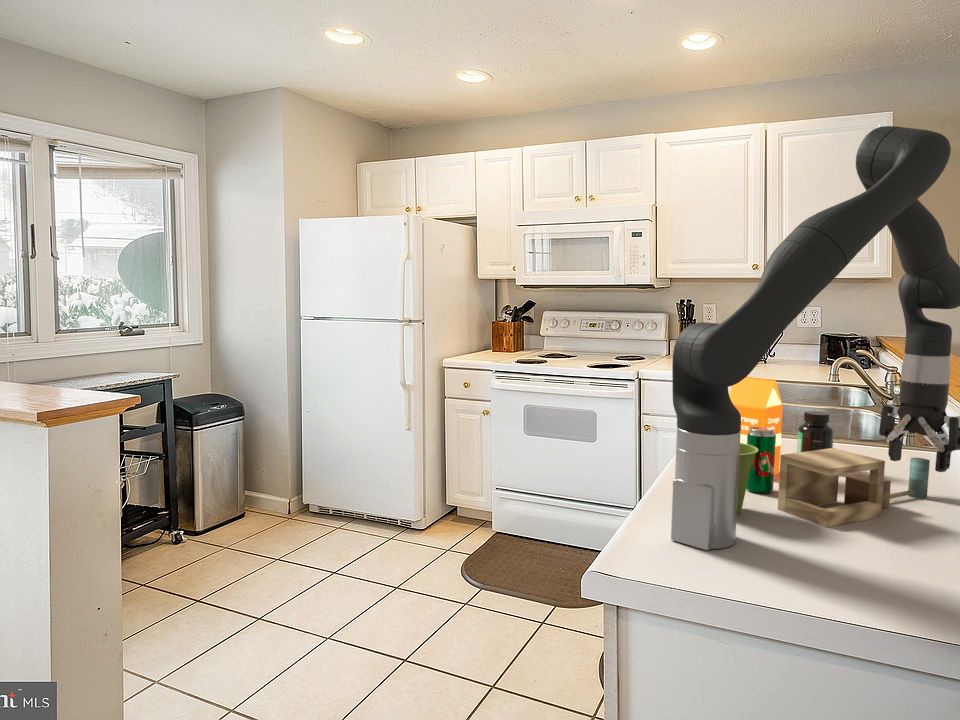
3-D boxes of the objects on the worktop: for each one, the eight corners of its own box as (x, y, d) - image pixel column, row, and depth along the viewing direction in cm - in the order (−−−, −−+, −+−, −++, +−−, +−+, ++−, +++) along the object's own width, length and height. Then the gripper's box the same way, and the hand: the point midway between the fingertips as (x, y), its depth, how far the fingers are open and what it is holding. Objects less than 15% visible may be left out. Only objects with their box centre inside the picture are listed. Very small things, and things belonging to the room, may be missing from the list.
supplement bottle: (793, 469, 147) (797, 413, 146) (798, 462, 153) (801, 409, 152) (829, 473, 144) (833, 417, 142) (832, 466, 150) (836, 412, 148)
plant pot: (767, 509, 121) (770, 446, 119) (735, 526, 112) (739, 458, 111) (704, 494, 129) (706, 435, 128) (670, 509, 121) (673, 445, 119)
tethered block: (869, 511, 120) (872, 472, 119) (844, 503, 124) (846, 465, 123) (936, 499, 127) (938, 461, 126) (909, 491, 132) (912, 455, 131)
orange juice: (761, 479, 139) (766, 381, 137) (721, 470, 146) (725, 377, 144) (779, 472, 144) (784, 378, 142) (740, 464, 151) (744, 373, 149)
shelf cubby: (827, 527, 112) (830, 468, 111) (777, 509, 121) (780, 454, 120) (881, 516, 117) (885, 460, 116) (829, 499, 126) (833, 447, 125)
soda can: (749, 485, 135) (752, 425, 134) (776, 490, 132) (779, 428, 131) (740, 491, 131) (743, 429, 130) (768, 496, 128) (771, 432, 127)
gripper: (978, 383, 122) (970, 473, 123) (900, 373, 134) (893, 455, 136) (952, 385, 118) (943, 477, 120) (874, 375, 131) (868, 458, 133)
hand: (917, 465), depth 128 cm, fingers open, 8 cm apart
